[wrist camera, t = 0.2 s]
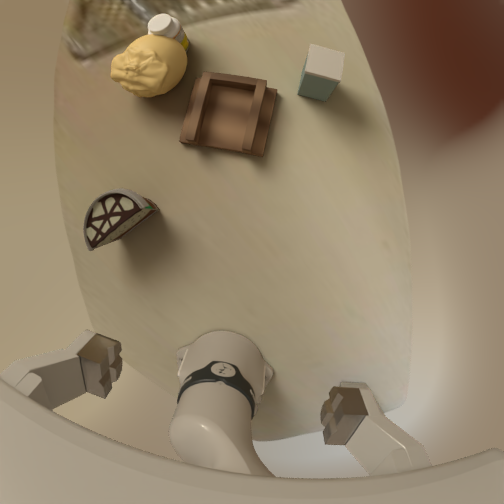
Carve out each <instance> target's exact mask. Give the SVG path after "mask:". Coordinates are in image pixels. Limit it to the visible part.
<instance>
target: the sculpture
mask: <svg viewBox="0 0 504 504" xmlns="http://www.w3.org/2000/svg"><path fill="white" fill-rule="evenodd" d="M186 66H187V55H186V51H185V49H184V48H183V46H182V45H181V44H180V43H179V42H178V41H177V40H175V39H172V38H169V37H166V36H164V35H153V34H149V35H145V36H142V37H140V38H138V39H137V40H135V41H134V42H133V43H131V44H130V45H129V46H128V48H127V49H126V50H125V52H124V53H122V54H119V55H117V56H116V57H114V59H113V60H112V64H111V78H112V79H113V80H114V81H115V82H120V84H121V85H122V87H123V88H124V89H125V90H127V91H129V92H131V93H133V94H134V95H136V96H138V97H154V96H156V95H160V94H165V93H166V92H168V91H169V90H171V89H172V88H174V87H175V86H176V85H177V84H178V83H179V81H180V80H181V79H182V77H183V75H184V73H185V70H186Z"/></svg>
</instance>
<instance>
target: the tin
mask: <svg viewBox="0 0 504 504" xmlns="http://www.w3.org/2000/svg"><path fill="white" fill-rule="evenodd" d="M344 56H345V53H343V52H339V51H336V50H332V49H329V48H325V47H322V46H318V45H314V44H310V47H309V52H308V55H307V58H306V61H305V64H304V67H303V70H302V75H301V80H300V85H299V90H298V94H297V95H301V96H305V97H309V98H313V99H317V100H321V101H325V102H326V100H327V99H328V97H329V96H330V95H331V93H332V92H333V90H334V89H335V87H336V86H337V84H338V83H340V81H341V77H342V70H343V63H344Z"/></svg>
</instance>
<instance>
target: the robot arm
mask: <svg viewBox="0 0 504 504" xmlns="http://www.w3.org/2000/svg"><path fill="white" fill-rule="evenodd" d="M121 351H122V348H121V343H120V342H119V341H117V340H114V339H111V338H108V337H106V336H103V335H101V334H97V333H95V332H92V331H90V330H85V331H83V332H82V333H81V334H80V336H78V337H77V338H76V339H75V340H74V341H73V343H72V344H70V345H69V346H68V347H67V349H66V350H64V349H59V350H56V351H52V352H48V353H44V354H40V355H36V356H32V357H28V358H24V359H20V360H15V361H14V362H13V363H12V364H11V365H10V366H8V367H7V368H6V369H5V370H4V371H3V372H2V373H1V374H0V504H504V451H502V450H500V449H498V448H491V449H488V450H486V451H483V452H480V453H477V454H474V455H471V456H468V457H465V458H461V459H458V460H455V461H451V462H447V463H444V464H439V465H435V466H432V464H431V462H430V459H429V457H428V455H427V453H426V450H425V448H424V446H423V445H422V444H421V443H419V442H418V441H417V440H415V439H414V438H413V437H411V436H410V435H409V434H407V433H406V432H405V431H404V430H402V429H401V428H400V427H398V426H397V425H396V424H394V423H393V422H392V421H390V420H389V419H388V418H387V417H385V416H381V414H380V412H379V409H378V407H377V404H376V402H375V399H374V397H373V394H372V392H371V390H370V389H369V388H351V387H336V386H334V387H333V388H332V389H331V390H330V392H329V396H330V398H329V399H328V400H326V401H325V402H324V404H323V406H322V410H321V423H322V424H323V425H324V426H325V429H324V431H323V435H324V441H325V444H328V445H345V447H346V448H347V449H348V450H349V451H350V453H351V454H352V455H353V456H354V457H355V459H356V460H357V461H358V462H359V463H360V464H361V465H362V467H363V468H364V469H365V470H366V471H367V472H368V473H369V475H370V476H366V477H353V478H331V479H304V478H282V477H275V476H274V475H273V474H272V473H271V472H270V471H269V470H268V469H267V467H266V466H265V465H264V464H263V463H262V461H261V460H260V458H259V457H258V455H257V453H256V451H255V449H254V446H253V443H252V432H251V420H252V418H253V416H255V415H256V413H257V410H258V406H257V405H256V403H259V404H260V403H261V401H262V397H260V396H261V395H263V393H264V389H265V388H266V386H267V384H268V383H269V381H270V379H271V378H272V376H273V368H272V367H271V366H270V365H269V364H268V363H266V362H265V361H264V360H263V358H262V356H261V353H260V351H259V350H258V348H257V347H256V346H255V344H254V343H252V342H251V341H250V340H249V339H247V338H246V337H244V336H242V335H240V334H237V333H234V332H229V331H214V332H210V333H207V334H205V335H203V336H201V337H199V338H198V339H197V340H196V341H195V342H194V343H192V344H191V345H188V346H185V347H182V348H180V349H178V351H177V363H178V377H179V381H180V390H179V393H178V394H179V395H178V399H177V404H178V405H177V408H176V410H175V413H174V415H173V418H172V421H171V423H170V426H169V439H170V442H171V445H172V447H173V448H174V450H175V452H176V453H177V455H178V456H179V457H180V458H181V459H182V460H183V461H184V462H181V461H177V460H173V459H169V458H166V457H163V456H159V455H156V454H153V453H150V452H146V451H143V450H140V449H137V448H134V447H131V446H129V445H126V444H123V443H120V442H118V441H116V440H113V439H111V438H108V437H106V436H103V435H101V434H98V433H96V432H94V431H92V430H89V429H87V428H85V427H83V426H80V425H78V424H77V423H74V422H72V421H70V420H68V419H66V418H64V417H62V416H61V415H59V414H57V413H55V412H53V411H52V409H54V408H56V407H58V406H60V405H62V404H64V403H66V402H68V401H70V400H72V399H74V398H76V397H78V396H80V395H82V394H84V393H86V392H89V393H91V394H94V395H96V396H99V397H101V398H104V399H105V398H106V397H107V395H108V394H109V392H110V391H111V389H112V383H113V382H115V381H117V380H118V378H119V376H120V374H121V371H122V358H121V357H120V355H119V353H120V352H121ZM182 359H183V360H182ZM265 376H266V377H265ZM185 462H186V463H185Z"/></svg>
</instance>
